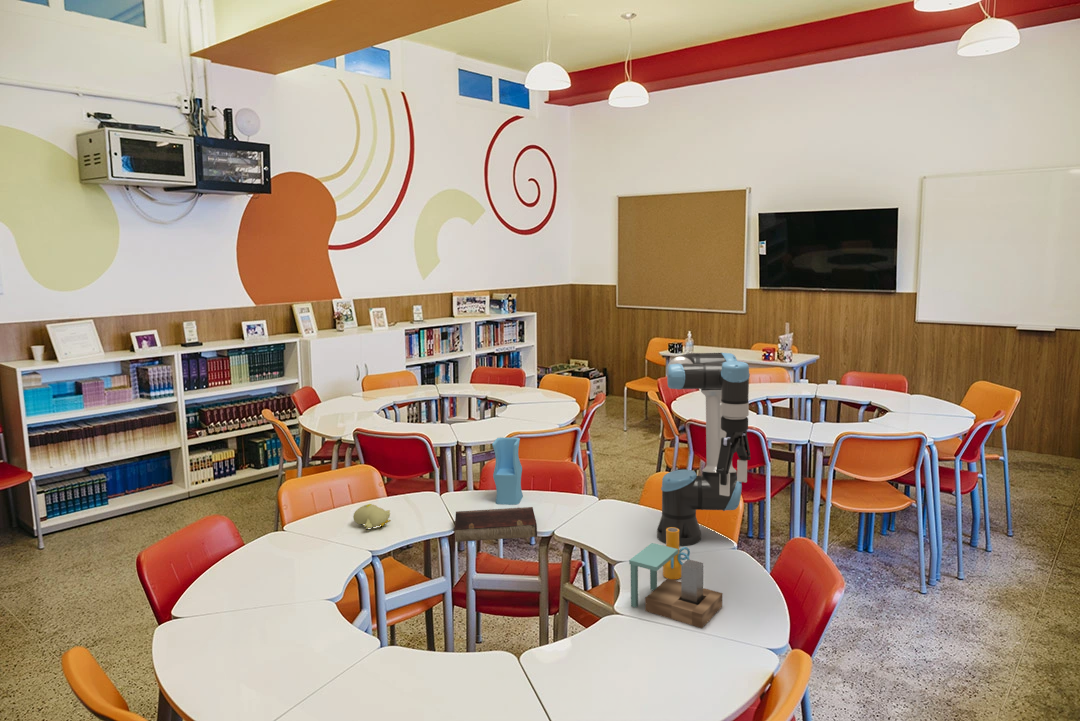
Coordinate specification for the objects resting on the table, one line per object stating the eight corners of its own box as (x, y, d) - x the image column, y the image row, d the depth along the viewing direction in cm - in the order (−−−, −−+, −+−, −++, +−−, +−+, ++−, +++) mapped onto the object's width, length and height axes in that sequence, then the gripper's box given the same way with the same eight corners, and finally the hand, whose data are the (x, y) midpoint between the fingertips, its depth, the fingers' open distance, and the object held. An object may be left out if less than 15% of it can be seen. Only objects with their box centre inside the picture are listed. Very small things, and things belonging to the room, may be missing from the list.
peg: (702, 609, 203) (703, 563, 201) (696, 616, 199) (696, 569, 197) (688, 605, 206) (688, 559, 203) (681, 612, 202) (681, 565, 200)
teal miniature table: (652, 586, 217) (652, 542, 215) (678, 594, 212) (678, 549, 210) (629, 606, 206) (629, 560, 204) (656, 614, 201) (656, 567, 199)
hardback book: (532, 518, 276) (532, 505, 275) (537, 537, 257) (536, 524, 256) (456, 522, 273) (455, 510, 272) (455, 543, 255) (454, 529, 254)
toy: (373, 519, 260) (341, 506, 267) (372, 540, 263) (341, 527, 269) (398, 503, 273) (368, 491, 279) (397, 523, 276) (367, 511, 282)
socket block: (667, 591, 214) (667, 578, 214) (722, 606, 205) (722, 593, 204) (645, 611, 203) (645, 597, 203) (702, 628, 193) (702, 614, 193)
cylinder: (689, 585, 217) (690, 538, 215) (654, 583, 219) (654, 536, 217) (689, 568, 229) (690, 523, 227) (656, 565, 231) (656, 521, 229)
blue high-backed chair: (494, 504, 290) (491, 443, 286) (499, 495, 300) (497, 437, 296) (518, 504, 289) (516, 444, 285) (523, 496, 298) (521, 437, 294)
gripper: (737, 406, 217) (736, 474, 220) (704, 424, 197) (703, 498, 200) (762, 408, 212) (761, 478, 216) (730, 427, 193) (729, 503, 196)
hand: (733, 488), depth 208 cm, fingers open, 13 cm apart
